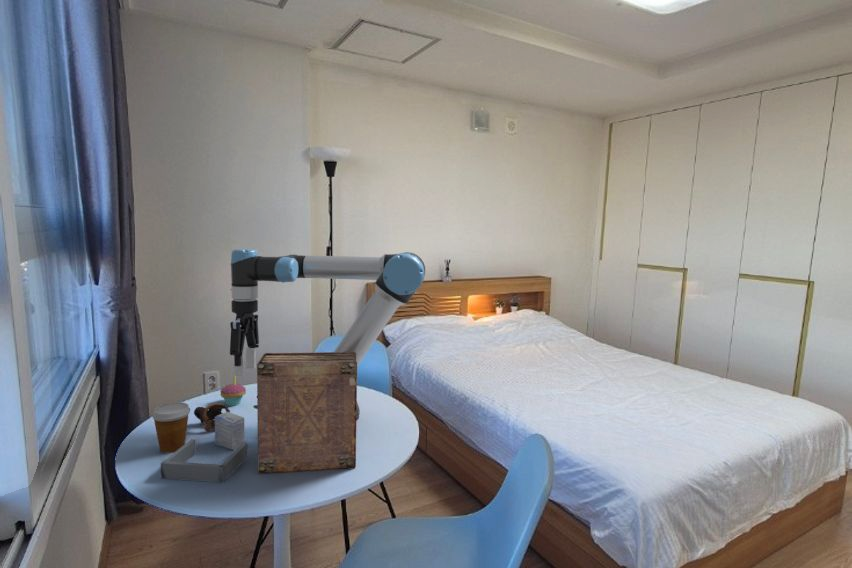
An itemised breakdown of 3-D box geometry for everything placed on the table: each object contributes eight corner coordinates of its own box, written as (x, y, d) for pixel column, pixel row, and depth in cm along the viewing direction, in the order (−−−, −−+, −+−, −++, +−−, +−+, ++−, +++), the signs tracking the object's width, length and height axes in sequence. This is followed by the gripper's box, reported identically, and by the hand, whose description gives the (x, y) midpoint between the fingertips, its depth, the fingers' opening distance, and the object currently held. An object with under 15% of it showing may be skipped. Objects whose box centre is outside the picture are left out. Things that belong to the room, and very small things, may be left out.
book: (354, 451, 128) (357, 351, 125) (355, 468, 119) (358, 361, 116) (263, 456, 124) (263, 352, 120) (257, 474, 115) (257, 362, 111)
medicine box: (245, 445, 130) (245, 417, 129) (232, 451, 126) (232, 422, 125) (227, 438, 134) (227, 411, 133) (214, 444, 130) (214, 416, 129)
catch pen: (247, 456, 124) (247, 442, 123) (223, 482, 110) (223, 467, 110) (191, 452, 124) (191, 439, 124) (161, 478, 111) (160, 463, 111)
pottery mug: (235, 420, 148) (236, 404, 144) (222, 443, 140) (222, 427, 136) (200, 410, 147) (200, 394, 143) (184, 433, 139) (184, 417, 135)
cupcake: (225, 399, 164) (225, 368, 163) (249, 399, 165) (248, 368, 164) (217, 408, 156) (216, 375, 154) (242, 408, 157) (241, 375, 155)
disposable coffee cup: (150, 458, 120) (148, 416, 119) (155, 443, 129) (154, 403, 128) (189, 452, 124) (188, 412, 123) (192, 438, 133) (191, 400, 132)
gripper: (247, 294, 145) (248, 361, 148) (215, 303, 125) (216, 381, 128) (270, 295, 145) (270, 363, 148) (241, 305, 125) (241, 383, 128)
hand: (245, 371), depth 138 cm, fingers open, 7 cm apart
